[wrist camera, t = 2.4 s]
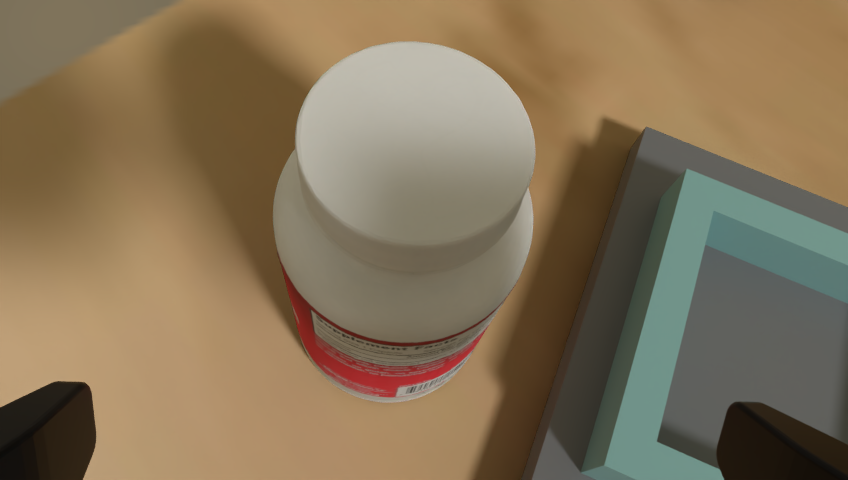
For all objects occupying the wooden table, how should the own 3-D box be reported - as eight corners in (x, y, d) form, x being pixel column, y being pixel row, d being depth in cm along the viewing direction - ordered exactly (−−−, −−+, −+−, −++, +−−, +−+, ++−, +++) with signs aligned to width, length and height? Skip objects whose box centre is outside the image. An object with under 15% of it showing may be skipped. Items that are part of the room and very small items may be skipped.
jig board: (909, 921, 17) (1038, 1009, 14) (449, 697, 18) (469, 731, 15) (944, 274, 25) (1028, 236, 22) (631, 147, 26) (669, 94, 23)
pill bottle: (341, 211, 24) (334, -26, 14) (498, 270, 24) (606, 70, 14) (266, 367, 21) (190, 209, 11) (441, 436, 21) (524, 338, 11)
